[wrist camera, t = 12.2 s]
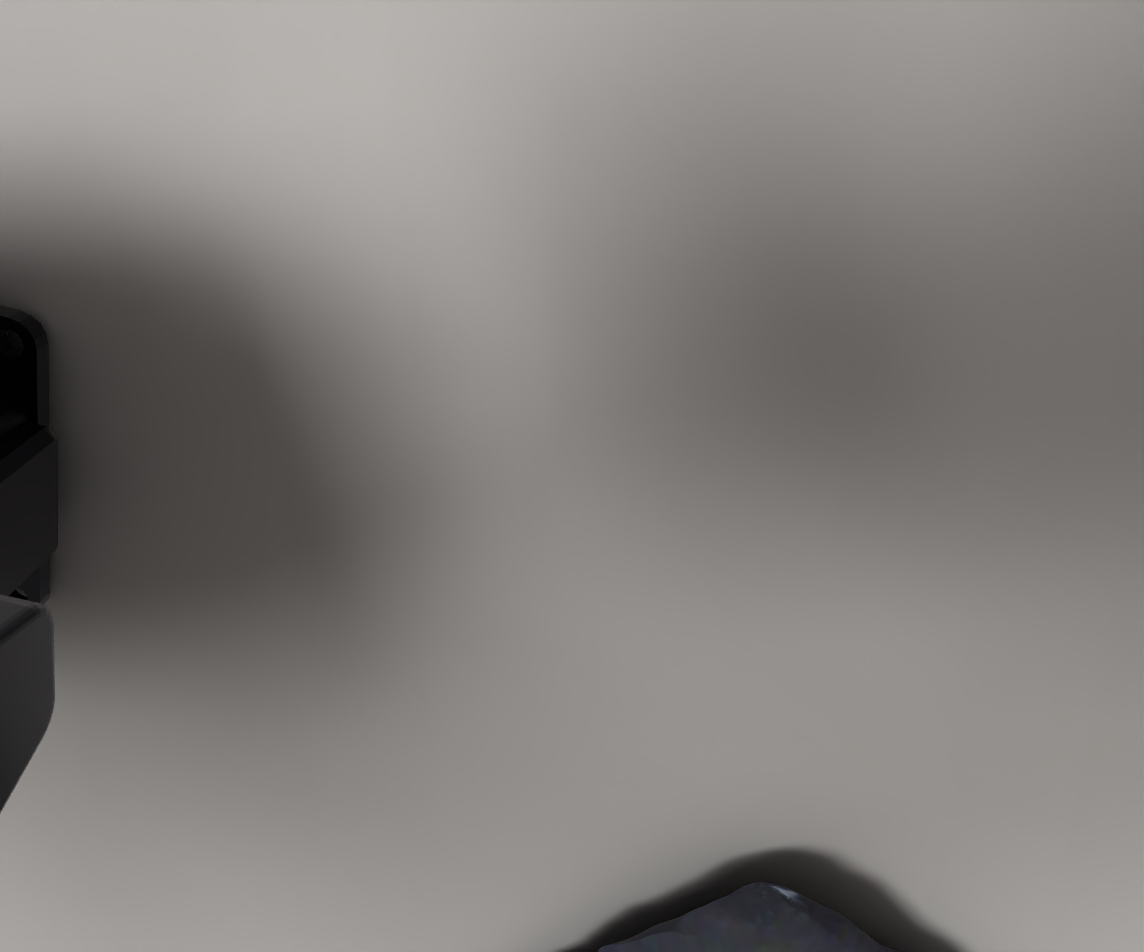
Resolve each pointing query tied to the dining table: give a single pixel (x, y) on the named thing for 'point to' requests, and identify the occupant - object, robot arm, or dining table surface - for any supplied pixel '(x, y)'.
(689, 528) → the dining table surface
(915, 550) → the dining table surface
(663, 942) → the dark slate chunk
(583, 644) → the dining table surface
